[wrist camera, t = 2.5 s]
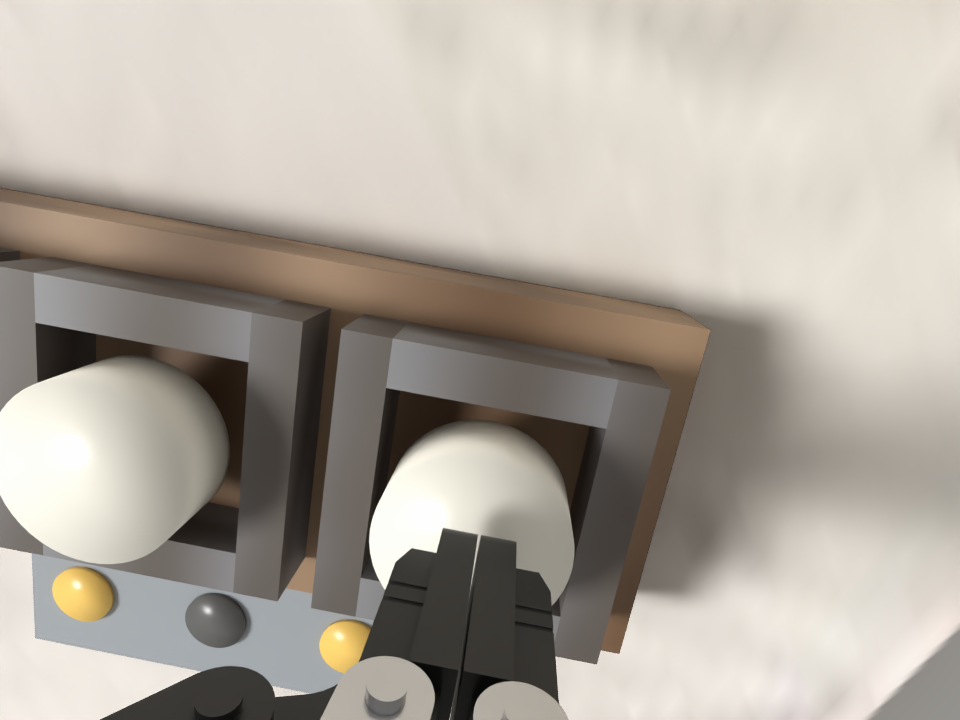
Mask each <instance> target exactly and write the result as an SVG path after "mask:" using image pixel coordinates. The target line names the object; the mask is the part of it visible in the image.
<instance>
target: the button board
mask: <svg viewBox="0 0 960 720" xmlns="http://www.w3.org/2000/svg"><path fill="white" fill-rule="evenodd" d="M710 331H711V330H710V329H708V328H707V327H705V326H704V325H702V324H701V323H699V322H697V321H696V320H694V319H693V318H691V317H689V316H688V315H686V314H685V313H683V312H682V311H680V310H676V309H670V308H665V307H659V306H654V305H648V304H643V303H637V302H632V301H626V300H620V299H615V298H609V297H604V296H598V295H593V294H587V293H582V292H576V291H570V290H565V289H559V288H554V287H548V286H543V285H537V284H531V283H526V282H520V281H515V280H509V279H504V278H498V277H493V276H487V275H481V274H476V273H470V272H465V271H459V270H454V269H448V268H443V267H437V266H431V265H426V264H420V263H415V262H409V261H404V260H398V259H392V258H387V257H381V256H376V255H370V254H365V253H359V252H354V251H348V250H342V249H337V248H331V247H326V246H320V245H315V244H309V243H304V242H298V241H292V240H287V239H281V238H276V237H270V236H265V235H259V234H253V233H248V232H242V231H237V230H231V229H226V228H220V227H215V226H209V225H203V224H198V223H192V222H187V221H181V220H176V219H170V218H165V217H159V216H153V215H148V214H142V213H137V212H131V211H126V210H120V209H114V208H109V207H103V206H98V205H92V204H87V203H81V202H76V201H70V200H64V199H59V198H53V197H48V196H42V195H37V194H31V193H26V192H20V191H14V190H9V189H3V188H0V412H1V410H2V409H3V408H4V406H5V405H6V403H7V402H8V401H10V400H11V399H12V398H13V397H14V396H15V395H16V394H18V393H19V392H20V391H22V390H23V389H25V388H27V387H29V386H31V385H33V384H36V383H39V382H41V381H44V380H47V379H50V378H53V377H56V376H58V375H61V374H64V373H67V372H70V371H72V370H75V369H78V368H81V367H84V366H87V365H89V364H92V363H95V362H98V361H101V360H104V359H107V358H110V357H115V356H121V355H139V356H147V357H151V358H155V359H158V360H161V361H164V362H166V363H169V364H171V365H173V366H175V367H177V368H178V369H180V370H182V371H183V372H185V373H186V374H188V375H189V376H191V377H192V378H193V379H194V380H195V381H196V382H198V383H199V384H200V385H201V386H202V387H203V388H204V390H205V391H206V392H207V393H208V394H209V395H210V397H211V398H212V399H213V401H214V402H215V404H216V405H217V407H218V409H219V411H220V413H221V415H222V417H223V419H224V422H225V424H226V428H227V431H228V435H229V442H230V461H229V467H228V471H227V474H226V477H225V479H224V481H223V484H222V486H221V487H220V489H219V490H218V492H217V493H216V494H215V495H214V496H213V498H212V499H211V500H210V501H209V502H208V503H206V504H205V505H204V506H203V507H202V508H201V509H200V510H199V511H198V512H197V513H196V514H195V515H194V516H192V517H191V518H190V519H189V520H188V521H187V522H186V523H185V524H184V525H183V526H182V527H181V528H179V529H178V530H177V531H176V532H175V533H174V534H173V535H172V536H171V537H170V538H169V539H168V540H167V541H165V542H164V543H163V544H162V545H161V546H160V547H158V548H157V549H156V550H155V551H153V552H151V553H150V554H148V555H146V556H144V557H142V558H139V559H137V560H134V561H130V562H125V563H118V564H96V563H89V562H85V561H81V560H77V559H74V558H71V557H68V556H66V555H63V554H61V553H59V552H57V551H55V550H53V549H51V548H50V547H48V546H46V545H45V544H43V543H42V542H40V541H39V540H38V539H36V538H35V537H34V536H32V535H31V534H30V533H29V532H28V531H27V530H26V529H25V528H24V527H23V526H22V525H21V524H20V523H19V522H18V521H17V520H16V519H15V517H14V516H13V515H12V514H11V512H10V511H9V509H8V508H7V506H6V505H5V503H4V501H3V500H2V498H1V496H0V547H3V548H8V549H13V550H18V551H23V552H28V553H34V554H39V555H44V556H49V557H54V558H59V559H64V560H69V561H74V562H79V563H84V564H89V565H94V566H100V567H105V568H110V569H115V570H120V571H125V572H130V573H135V574H140V575H145V576H150V577H155V578H161V579H166V580H171V581H176V582H181V583H186V584H191V585H196V586H201V587H206V588H211V589H216V590H221V591H227V592H232V593H237V594H242V595H247V596H252V597H257V598H262V599H267V600H272V601H277V602H278V600H279V598H280V597H281V595H282V594H283V592H284V590H285V589H286V588H287V589H292V590H297V591H302V592H307V593H312V602H311V608H313V609H318V610H323V611H328V612H333V613H338V614H343V615H349V616H354V617H359V618H364V619H369V620H374V619H375V617H376V614H377V611H378V608H379V606H380V603H381V600H382V599H383V595H384V592H385V589H384V588H383V586H382V584H381V582H380V581H379V579H378V577H377V575H376V572H375V569H374V567H373V564H372V559H371V555H370V545H369V537H370V527H371V522H372V518H373V515H374V513H375V510H376V507H377V505H378V503H379V501H380V499H381V497H382V495H383V493H384V491H385V489H386V487H387V485H388V483H389V481H390V479H391V477H392V475H393V473H394V471H395V469H396V467H397V465H398V463H399V461H400V459H401V458H402V456H403V455H404V453H405V452H406V451H407V449H408V448H409V447H410V446H411V445H412V444H413V443H414V442H415V441H416V440H418V439H419V438H420V437H422V436H423V435H424V434H426V433H428V432H429V431H431V430H433V429H435V428H437V427H440V426H442V425H445V424H448V423H452V422H456V421H462V420H488V421H495V422H499V423H503V424H506V425H509V426H511V427H514V428H516V429H518V430H520V431H522V432H524V433H526V434H527V435H529V436H530V437H532V438H533V439H534V440H536V441H537V442H538V443H539V444H540V445H541V446H542V447H543V448H544V449H545V450H546V451H547V452H548V453H549V454H550V456H551V457H552V458H553V460H554V461H555V463H556V465H557V466H558V468H559V470H560V472H561V475H562V477H563V480H564V483H565V487H566V492H567V499H568V505H569V511H570V518H571V524H572V531H573V538H574V562H573V568H572V571H571V574H570V578H569V580H568V582H567V584H566V587H565V589H564V591H563V592H562V594H561V595H560V596H559V598H558V599H557V601H556V602H555V603H554V604H553V605H552V616H553V633H554V645H555V656H557V657H562V658H567V659H572V660H577V661H582V662H587V663H592V664H597V661H598V658H599V654H600V650H603V651H608V652H613V653H618V654H619V653H620V649H621V646H622V642H623V639H624V635H625V632H626V628H627V625H628V621H629V618H630V614H631V610H632V607H633V603H634V600H635V596H636V593H637V589H638V586H639V582H640V579H641V575H642V571H643V568H644V564H645V561H646V557H647V554H648V550H649V547H650V543H651V540H652V536H653V532H654V529H655V525H656V522H657V518H658V515H659V511H660V508H661V504H662V501H663V497H664V494H665V490H666V486H667V483H668V479H669V476H670V472H671V469H672V465H673V462H674V458H675V455H676V451H677V447H678V444H679V440H680V437H681V433H682V430H683V426H684V423H685V419H686V416H687V412H688V408H689V405H690V401H691V398H692V394H693V391H694V387H695V384H696V380H697V377H698V373H699V369H700V366H701V362H702V359H703V355H704V352H705V348H706V345H707V341H708V338H709V334H710Z"/></svg>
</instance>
